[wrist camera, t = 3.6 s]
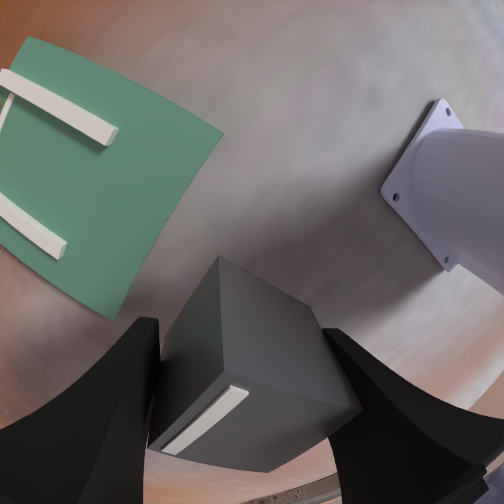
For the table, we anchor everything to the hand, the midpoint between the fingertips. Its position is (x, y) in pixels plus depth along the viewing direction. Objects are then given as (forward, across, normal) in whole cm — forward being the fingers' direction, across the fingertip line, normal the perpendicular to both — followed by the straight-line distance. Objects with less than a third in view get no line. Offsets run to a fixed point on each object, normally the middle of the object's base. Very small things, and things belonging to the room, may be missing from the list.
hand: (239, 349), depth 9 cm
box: (+7, -18, +42) cm, 47 cm away
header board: (+6, +10, -5) cm, 12 cm away
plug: (+2, 0, 0) cm, 2 cm away
